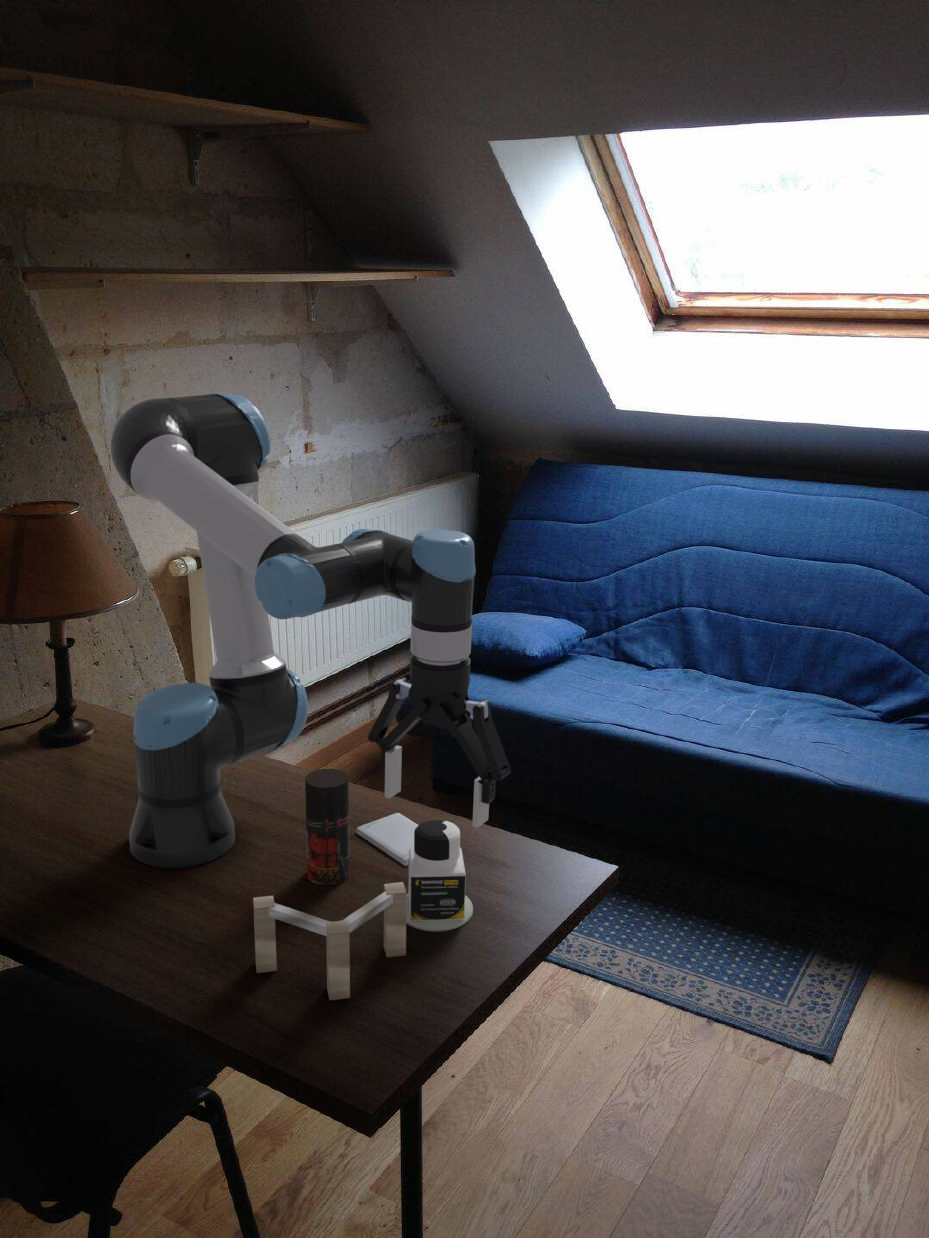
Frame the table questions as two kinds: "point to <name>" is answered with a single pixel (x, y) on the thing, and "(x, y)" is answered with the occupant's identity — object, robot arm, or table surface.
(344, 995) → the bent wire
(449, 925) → the pad
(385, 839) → the hard drive
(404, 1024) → the table surface
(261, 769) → the table surface
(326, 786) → the deodorant
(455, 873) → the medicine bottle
